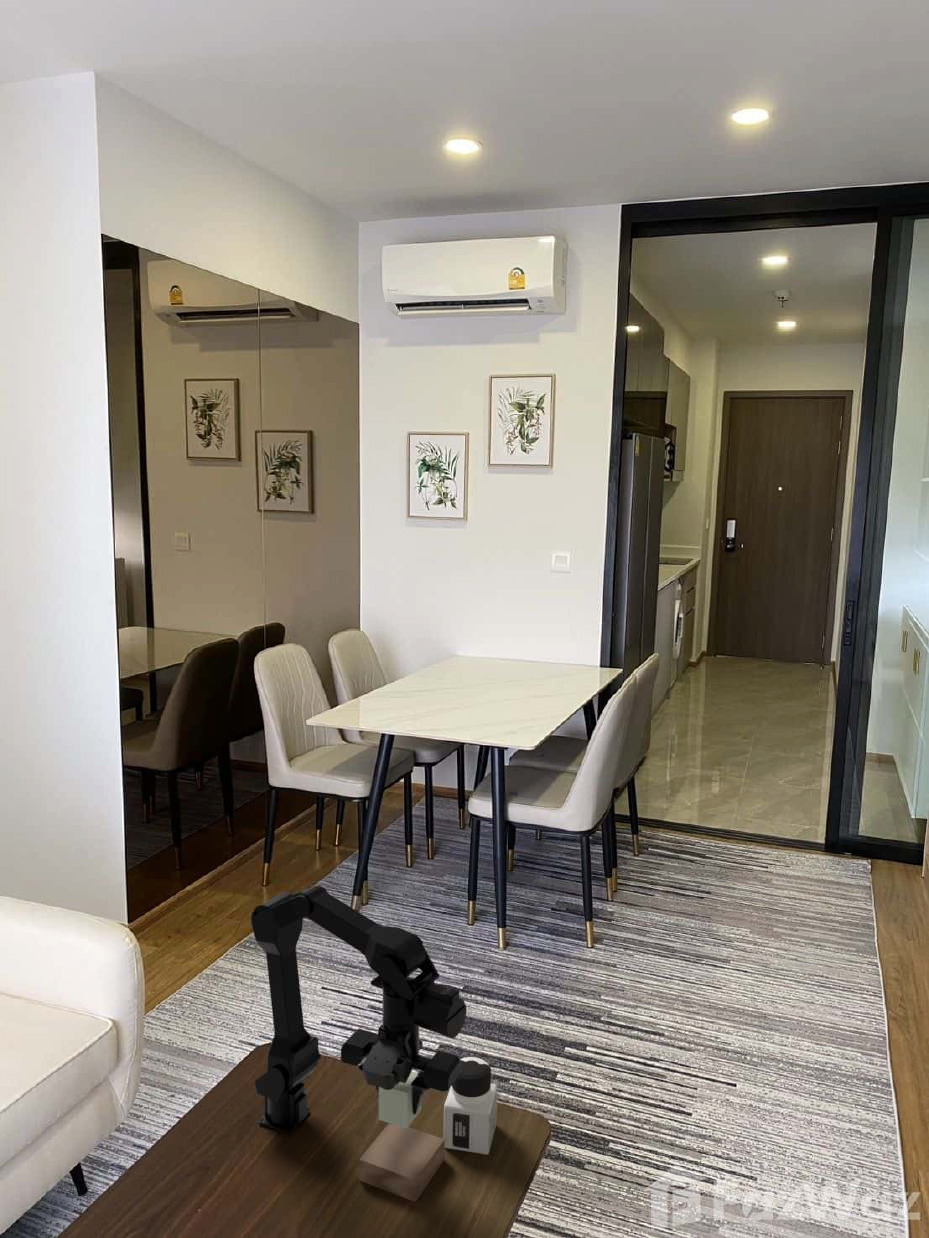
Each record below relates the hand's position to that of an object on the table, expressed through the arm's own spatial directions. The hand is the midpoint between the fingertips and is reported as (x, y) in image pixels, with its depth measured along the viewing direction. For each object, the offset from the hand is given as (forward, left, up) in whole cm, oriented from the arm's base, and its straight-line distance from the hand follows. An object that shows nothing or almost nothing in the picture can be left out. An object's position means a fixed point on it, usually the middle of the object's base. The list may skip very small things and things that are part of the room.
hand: (400, 1108), depth 146 cm
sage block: (0, 0, -1) cm, 1 cm away
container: (+7, +12, -11) cm, 18 cm away
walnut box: (0, +1, -11) cm, 11 cm away
